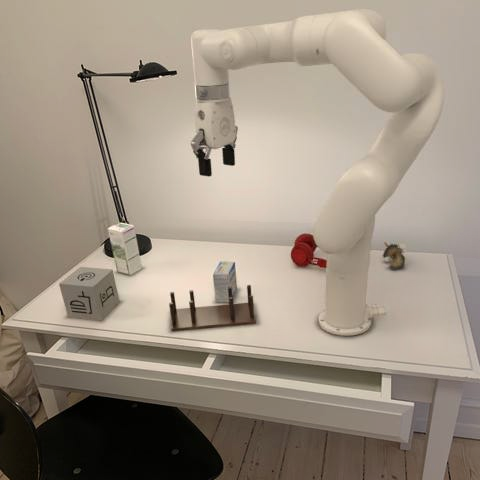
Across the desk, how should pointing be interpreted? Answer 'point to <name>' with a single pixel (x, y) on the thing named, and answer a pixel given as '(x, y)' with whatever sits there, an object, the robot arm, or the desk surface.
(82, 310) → the icon cube
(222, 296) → the medicine box
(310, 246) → the headphones
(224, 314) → the plate rack
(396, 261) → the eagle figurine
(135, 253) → the syrup box
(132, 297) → the desk surface
